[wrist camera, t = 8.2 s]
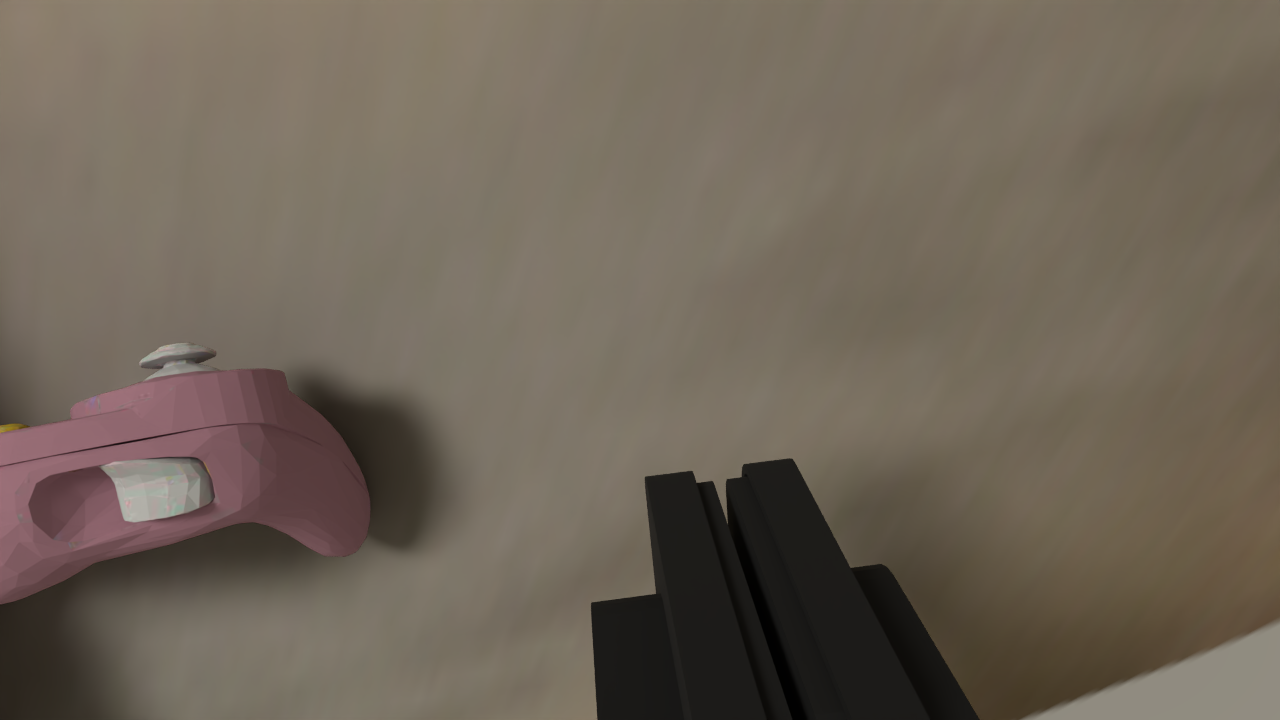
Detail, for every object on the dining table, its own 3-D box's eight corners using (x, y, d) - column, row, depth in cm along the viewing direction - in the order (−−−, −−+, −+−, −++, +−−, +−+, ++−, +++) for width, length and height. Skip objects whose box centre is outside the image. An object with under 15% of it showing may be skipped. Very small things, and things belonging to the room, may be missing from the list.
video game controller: (357, 348, 20) (222, 301, 13) (396, 541, 20) (279, 598, 13) (-72, 443, 19) (-453, 448, 12) (-39, 642, 19) (-414, 762, 12)
